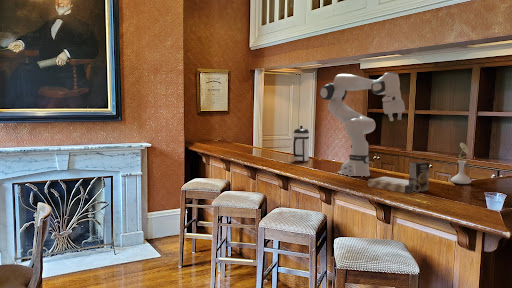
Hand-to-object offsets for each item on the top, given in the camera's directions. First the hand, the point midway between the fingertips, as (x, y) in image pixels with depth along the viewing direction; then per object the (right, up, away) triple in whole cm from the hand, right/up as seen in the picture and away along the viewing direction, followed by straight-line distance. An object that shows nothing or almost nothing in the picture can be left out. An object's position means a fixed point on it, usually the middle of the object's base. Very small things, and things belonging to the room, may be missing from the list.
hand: (395, 120), depth 254 cm
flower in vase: (+39, -39, -3) cm, 55 cm away
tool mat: (+3, -39, 0) cm, 39 cm away
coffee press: (-49, -30, +87) cm, 104 cm away
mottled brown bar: (-10, -41, -17) cm, 45 cm away
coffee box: (+6, -41, -21) cm, 47 cm away
